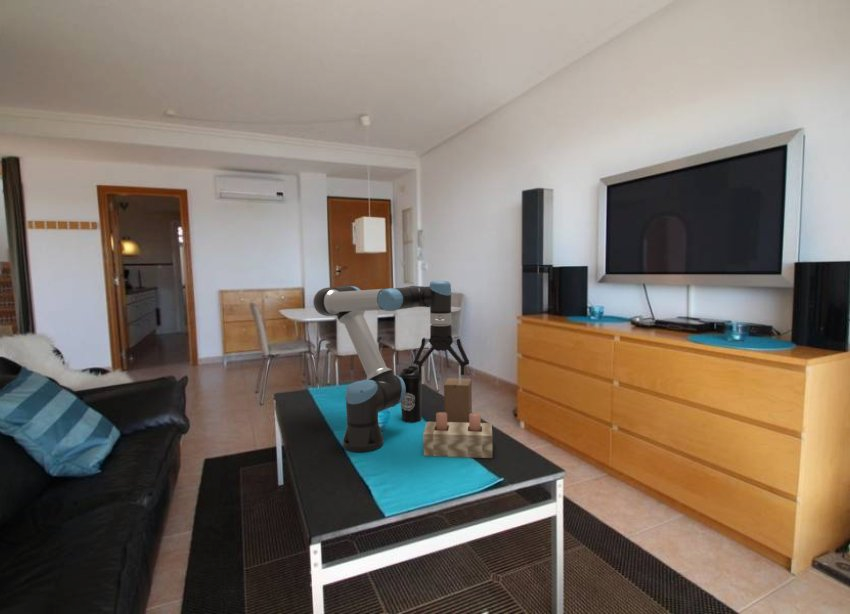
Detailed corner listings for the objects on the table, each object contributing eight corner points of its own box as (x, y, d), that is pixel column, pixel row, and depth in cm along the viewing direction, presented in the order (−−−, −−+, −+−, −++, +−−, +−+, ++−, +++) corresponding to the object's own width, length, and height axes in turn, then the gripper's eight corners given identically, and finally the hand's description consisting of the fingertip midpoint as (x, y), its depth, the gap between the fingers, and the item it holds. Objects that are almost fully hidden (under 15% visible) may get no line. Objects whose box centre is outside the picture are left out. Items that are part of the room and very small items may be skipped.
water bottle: (396, 421, 188) (394, 369, 186) (405, 414, 198) (404, 364, 196) (417, 424, 184) (416, 371, 182) (426, 416, 194) (425, 365, 192)
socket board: (423, 455, 154) (423, 433, 154) (427, 442, 166) (427, 421, 165) (492, 458, 151) (492, 435, 150) (491, 444, 163) (491, 423, 162)
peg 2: (469, 438, 156) (469, 416, 155) (469, 434, 160) (469, 412, 159) (480, 438, 155) (480, 416, 154) (480, 434, 159) (480, 413, 158)
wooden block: (469, 434, 173) (469, 385, 171) (444, 433, 175) (443, 384, 173) (472, 425, 182) (471, 378, 181) (448, 424, 184) (447, 377, 183)
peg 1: (435, 437, 157) (435, 415, 156) (436, 433, 161) (436, 412, 160) (446, 437, 157) (446, 416, 156) (447, 433, 161) (447, 412, 160)
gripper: (404, 326, 153) (406, 385, 155) (475, 326, 150) (475, 386, 152) (408, 323, 160) (409, 380, 163) (475, 323, 158) (475, 381, 160)
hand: (441, 383), depth 158 cm, fingers open, 12 cm apart
